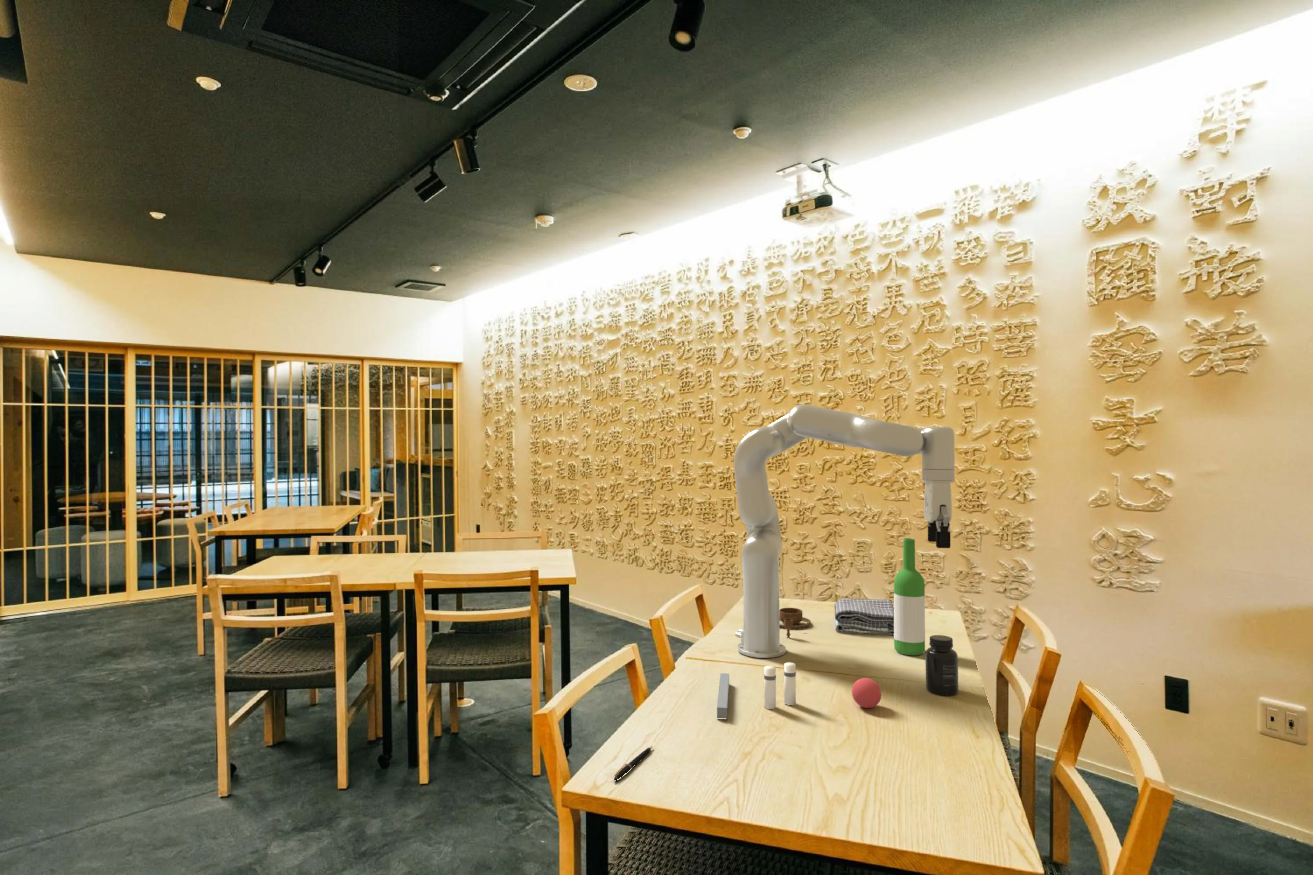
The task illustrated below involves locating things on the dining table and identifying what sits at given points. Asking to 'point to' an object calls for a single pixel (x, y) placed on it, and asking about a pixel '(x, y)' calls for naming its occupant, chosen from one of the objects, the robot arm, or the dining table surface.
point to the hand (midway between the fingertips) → (938, 544)
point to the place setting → (792, 619)
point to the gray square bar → (723, 696)
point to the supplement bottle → (941, 666)
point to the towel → (864, 616)
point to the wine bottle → (909, 605)
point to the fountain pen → (631, 764)
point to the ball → (866, 693)
